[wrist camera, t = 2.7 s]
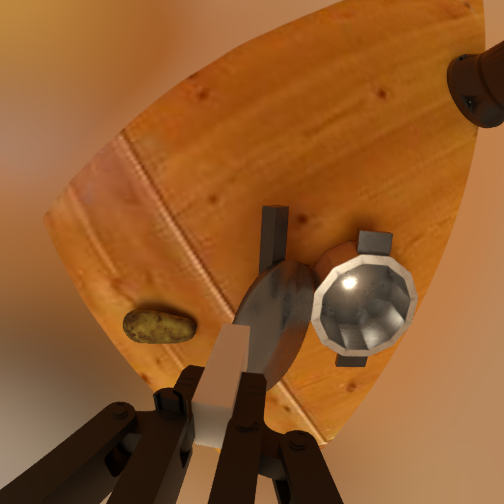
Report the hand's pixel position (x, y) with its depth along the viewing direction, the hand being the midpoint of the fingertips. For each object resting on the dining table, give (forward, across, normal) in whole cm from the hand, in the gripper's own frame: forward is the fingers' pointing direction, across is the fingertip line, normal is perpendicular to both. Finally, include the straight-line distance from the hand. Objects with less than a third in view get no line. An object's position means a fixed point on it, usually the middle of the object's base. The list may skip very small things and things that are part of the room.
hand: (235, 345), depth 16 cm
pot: (+32, +16, -7) cm, 37 cm away
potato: (+34, -18, -17) cm, 42 cm away
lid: (+16, +3, -5) cm, 17 cm away
